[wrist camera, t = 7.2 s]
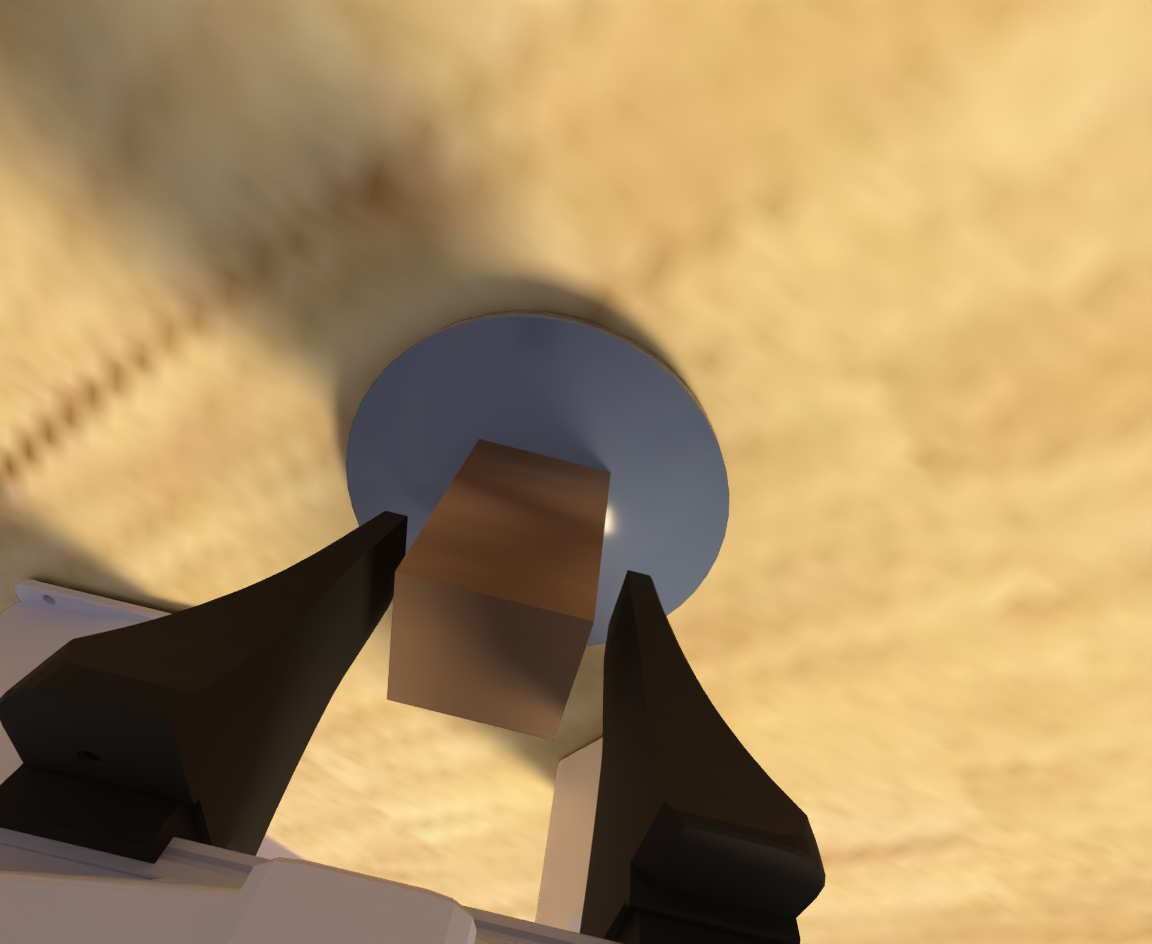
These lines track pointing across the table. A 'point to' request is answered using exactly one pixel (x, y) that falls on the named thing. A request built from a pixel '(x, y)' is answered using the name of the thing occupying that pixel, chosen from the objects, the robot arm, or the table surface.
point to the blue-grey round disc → (551, 438)
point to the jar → (570, 839)
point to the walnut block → (501, 591)
